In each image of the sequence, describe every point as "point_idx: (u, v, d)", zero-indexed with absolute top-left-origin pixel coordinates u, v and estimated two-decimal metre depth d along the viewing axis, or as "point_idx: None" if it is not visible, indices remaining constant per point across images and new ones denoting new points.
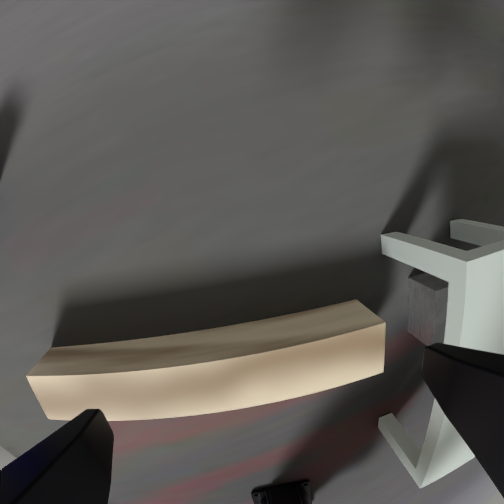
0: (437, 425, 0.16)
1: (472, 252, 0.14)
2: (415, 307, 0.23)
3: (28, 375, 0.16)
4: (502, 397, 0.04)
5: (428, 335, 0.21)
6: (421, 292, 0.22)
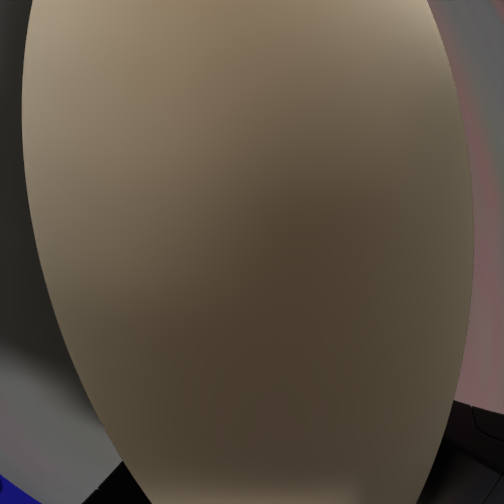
0: None
1: None
2: None
3: None
4: None
5: None
6: None
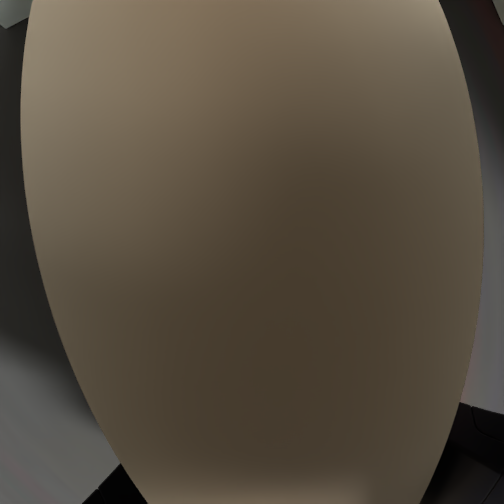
0: None
1: None
2: None
3: None
4: None
5: None
6: None
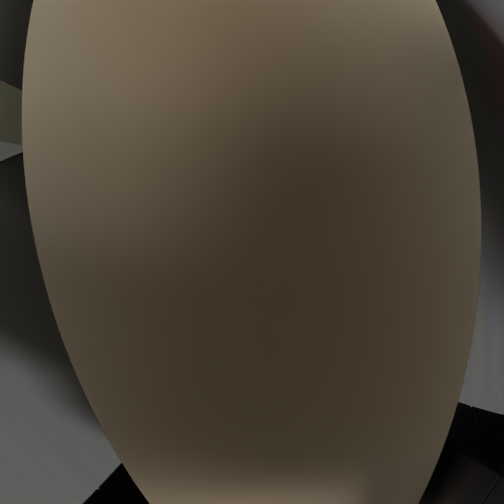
0: None
1: None
2: None
3: None
4: None
5: None
6: None
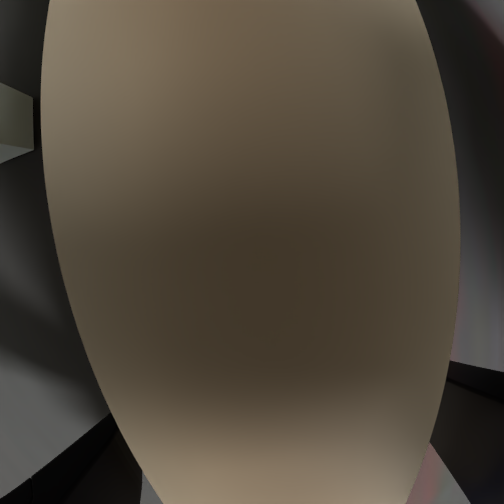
0: None
1: None
2: None
3: None
4: (476, 414, 0.04)
5: None
6: None
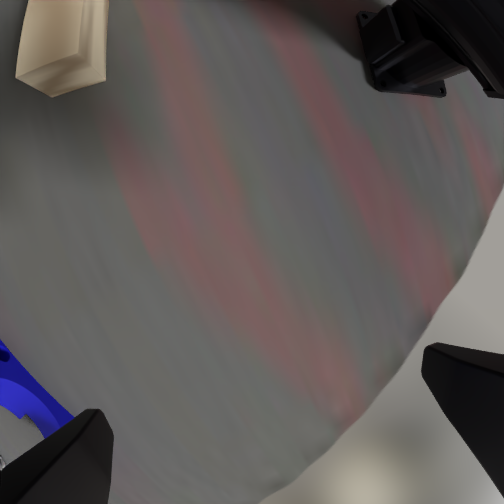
0: None
1: None
2: None
3: (16, 74, 0.11)
4: (502, 397, 0.04)
5: None
6: None
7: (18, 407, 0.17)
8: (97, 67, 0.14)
